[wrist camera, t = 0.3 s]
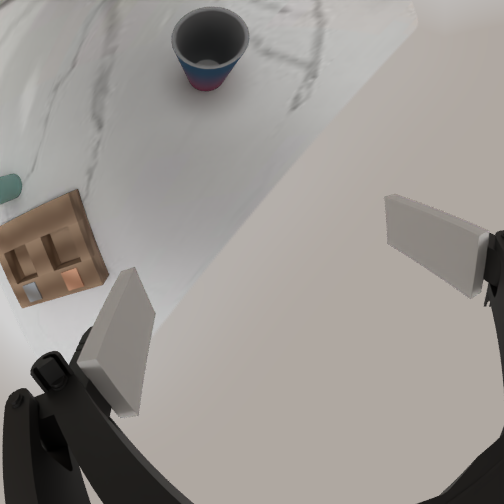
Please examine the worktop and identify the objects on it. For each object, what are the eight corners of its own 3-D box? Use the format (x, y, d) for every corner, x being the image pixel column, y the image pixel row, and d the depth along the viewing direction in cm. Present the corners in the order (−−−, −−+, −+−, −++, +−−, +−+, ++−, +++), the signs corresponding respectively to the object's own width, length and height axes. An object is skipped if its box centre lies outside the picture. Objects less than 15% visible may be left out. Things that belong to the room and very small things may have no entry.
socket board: (0, 226, 34) (-12, 233, 31) (77, 189, 35) (67, 193, 32) (30, 298, 39) (21, 309, 36) (109, 274, 41) (102, 285, 37)
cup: (229, 98, 35) (246, 71, 21) (179, 96, 34) (167, 68, 20) (233, 54, 33) (252, 9, 19) (184, 52, 32) (177, 5, 18)
